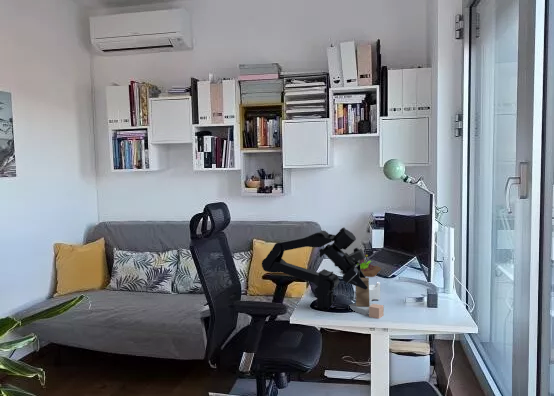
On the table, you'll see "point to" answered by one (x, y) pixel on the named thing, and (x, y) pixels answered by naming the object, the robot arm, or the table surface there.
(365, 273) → the plant
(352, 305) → the grey base block
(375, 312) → the terracotta cube
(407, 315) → the table surface
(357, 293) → the walnut pillar
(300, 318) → the table surface
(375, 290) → the bracket
